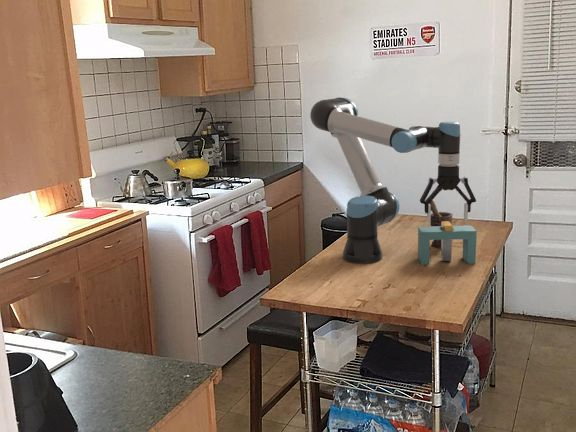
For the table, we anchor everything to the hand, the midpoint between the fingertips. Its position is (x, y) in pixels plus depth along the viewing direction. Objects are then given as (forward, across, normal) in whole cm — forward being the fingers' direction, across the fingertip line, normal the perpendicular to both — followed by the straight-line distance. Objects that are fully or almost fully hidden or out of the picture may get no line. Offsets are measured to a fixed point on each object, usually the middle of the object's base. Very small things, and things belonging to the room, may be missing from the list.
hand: (447, 221), depth 247 cm
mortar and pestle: (+16, +1, +19) cm, 25 cm away
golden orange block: (+15, 0, 0) cm, 15 cm away
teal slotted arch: (+15, 0, 0) cm, 15 cm away
